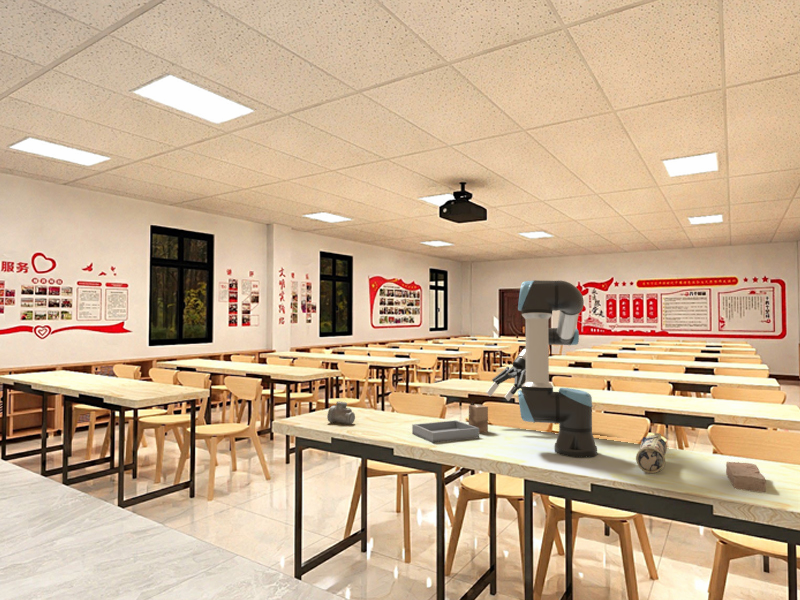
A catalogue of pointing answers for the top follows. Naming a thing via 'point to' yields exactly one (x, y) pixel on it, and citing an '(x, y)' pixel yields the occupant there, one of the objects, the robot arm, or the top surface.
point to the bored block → (479, 417)
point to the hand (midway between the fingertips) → (497, 396)
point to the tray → (445, 431)
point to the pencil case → (651, 454)
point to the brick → (745, 476)
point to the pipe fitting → (341, 413)
